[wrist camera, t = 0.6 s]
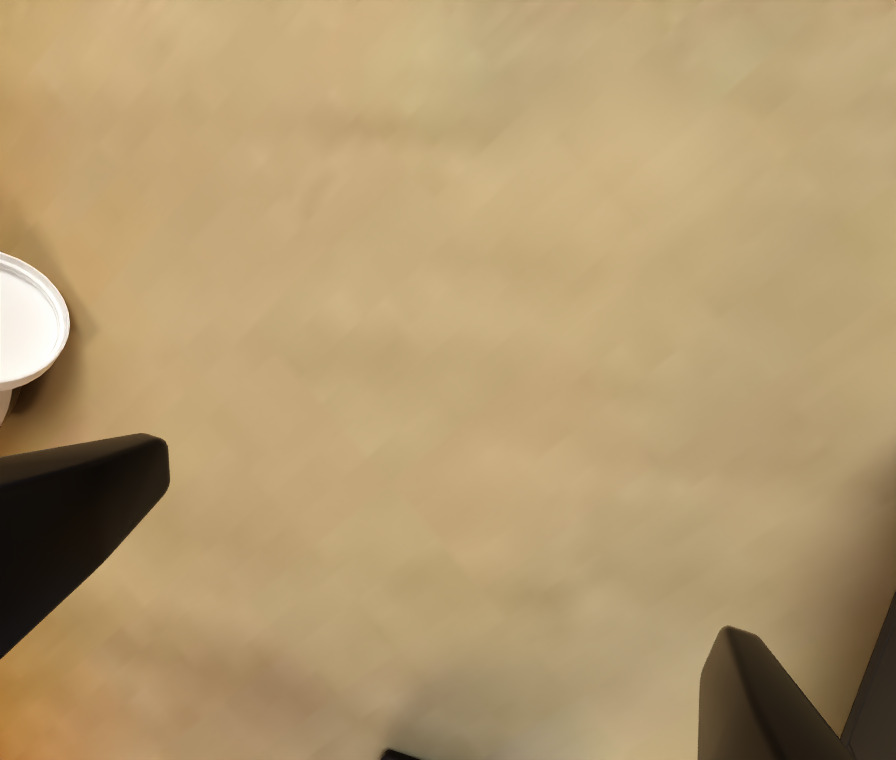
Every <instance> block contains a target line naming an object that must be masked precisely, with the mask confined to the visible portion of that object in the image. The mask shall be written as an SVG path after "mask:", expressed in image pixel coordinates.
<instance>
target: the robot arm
mask: <svg viewBox="0 0 896 760" xmlns="http://www.w3.org/2000/svg"><path fill="white" fill-rule="evenodd" d="M169 483H170V471H169V454H168V446H167V444H166V442H165V441H164V440H163V439H161V438H158V437H155V436H152V435H149V434H145V433H138V434H132V435H126V436H121V437H115V438H109V439H103V440H98V441H92V442H86V443H80V444H74V445H69V446H63V447H57V448H51V449H45V450H40V451H34V452H28V453H22V454H16V455H11V456H5V457H0V659H1V658H2V657H4V656H5V655H6V654H7V653H8V652H9V651H10V650H11V649H12V648H13V647H14V646H15V645H16V644H17V643H18V642H20V641H21V640H22V639H23V638H24V637H25V636H26V635H27V634H28V633H29V632H30V631H31V630H32V629H33V628H34V627H36V626H37V625H38V624H39V623H40V622H41V621H42V620H43V619H44V618H45V617H46V616H47V615H48V614H49V613H50V612H52V611H53V610H54V609H55V608H56V607H57V606H58V605H59V604H60V603H61V602H62V601H63V600H64V599H65V598H66V597H68V596H69V595H70V594H71V593H72V592H73V591H74V590H75V589H76V588H77V587H78V586H79V585H80V584H81V583H82V582H84V581H85V580H86V579H87V578H88V577H89V576H90V575H91V574H92V573H93V572H94V571H95V570H96V569H97V568H98V567H99V566H100V565H101V564H102V563H103V562H104V561H105V560H106V559H107V558H108V557H109V556H110V555H111V554H112V553H113V551H114V550H115V549H116V548H117V547H118V546H119V545H120V544H121V542H122V541H123V540H124V539H125V538H126V537H127V536H128V535H129V534H130V532H131V531H132V530H133V529H134V528H135V527H136V526H137V525H138V523H139V522H140V521H141V520H142V519H143V518H144V517H145V516H146V515H147V513H148V512H149V511H150V510H151V509H152V508H153V507H154V506H155V504H156V503H157V502H158V501H159V500H160V499H161V498H162V497H163V495H164V494H165V493H166V491H167V489H168V487H169ZM381 760H419V759H416V758H414V757H411V756H408V755H405V754H402V753H399V752H396V751H393V750H386V751H385V752H384V753H383V755H382V758H381ZM698 760H856V759H855V758H854V757H853V755H852V754H851V753H850V752H849V750H848V749H847V748H846V746H845V745H844V744H843V743H842V741H841V740H840V739H839V738H838V736H837V735H836V734H835V733H834V731H833V730H832V729H831V727H830V726H829V725H828V724H827V722H826V721H825V720H824V719H823V717H822V716H821V715H820V713H819V712H818V711H817V710H816V708H815V707H814V706H813V705H812V703H811V702H810V701H809V700H808V698H807V697H806V696H805V694H804V693H803V692H802V691H801V689H800V688H799V687H798V686H797V684H796V683H795V682H794V680H793V679H792V678H791V677H790V675H789V674H788V673H787V672H786V670H785V669H784V668H783V667H782V665H781V664H780V663H779V661H778V660H777V659H776V658H775V656H774V655H773V654H772V653H771V651H770V650H769V649H768V648H767V646H766V645H765V644H764V642H763V641H762V640H761V639H760V638H759V637H758V636H757V635H755V634H753V633H750V632H747V631H744V630H741V629H738V628H735V627H732V626H725V627H723V628H722V629H721V630H720V632H719V633H718V636H717V638H716V640H715V642H714V644H713V647H712V649H711V651H710V653H709V656H708V658H707V660H706V662H705V665H704V667H703V670H702V673H701V678H700V692H699V728H698Z"/></svg>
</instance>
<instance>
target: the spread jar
mask: <svg viewBox="0 0 896 760" xmlns="http://www.w3.org/2000/svg"><path fill="white" fill-rule="evenodd" d="M69 329H70V319H69V312H68V309H67V306H66V304H65V301H64V299H63V297H62V296H61V294H60V293H59V291H58V290H57V288H56V287H55V286H54V285H53V284H52V283H51V281H50V280H49V279H48V278H47V277H46V276H44V275H43V274H42V273H41V272H39V271H38V270H37V269H35V268H34V267H32V266H31V265H29V264H27V263H25V262H23V261H22V260H20V259H18V258H15V257H13V256H10V255H7V254H5V253H2V252H0V427H1V426H2V425H3V423H4V422H5V421H6V419H7V418H8V416H9V414H10V413H11V411H12V409H13V408H14V406H15V404H16V401H17V399H18V396H19V393H20V390H21V386H22V385H25V384H27V383H29V382H31V381H33V380H34V379H36V378H38V377H39V376H41V375H42V374H43V373H44V372H45V371H47V370H48V369H49V368H50V367H51V366H52V364H53V363H54V361H55V360H56V359H57V357H58V356H59V354H60V353H61V351H62V350H63V348H64V346H65V344H66V341H67V339H68V336H69Z"/></svg>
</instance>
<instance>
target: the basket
mask: <svg viewBox="0 0 896 760" xmlns="http://www.w3.org/2000/svg"><path fill="white" fill-rule="evenodd" d="M840 740H841V741H842V743H843V744H844V745H845V746H846V748H847V749H848V750H849V752H850V753H851V754H852V755H853V757H854V758H855V759H856V760H896V593H895V596H894V599H893V601H892V604H891V607H890V609H889V612H888V615H887V617H886V620H885V622H884V625H883V628H882V630H881V633H880V636H879V638H878V641H877V644H876V646H875V649H874V652H873V654H872V657H871V660H870V662H869V665H868V668H867V670H866V673H865V676H864V678H863V681H862V683H861V686H860V689H859V691H858V694H857V697H856V699H855V702H854V705H853V707H852V710H851V713H850V715H849V718H848V721H847V723H846V726H845V729H844V731H843V734H842V737H841V739H840Z"/></svg>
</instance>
